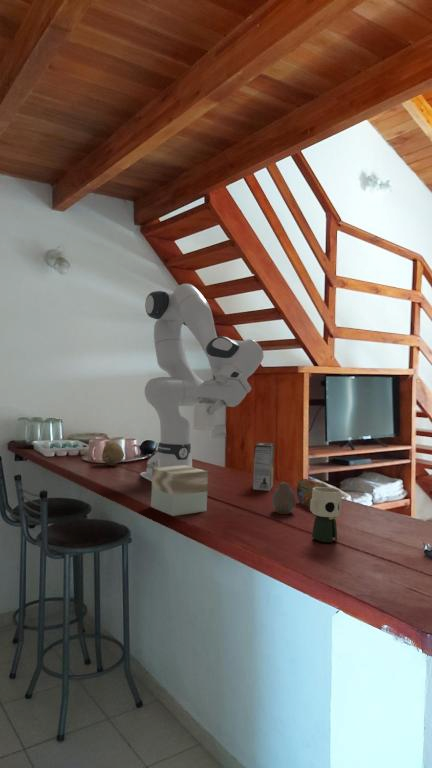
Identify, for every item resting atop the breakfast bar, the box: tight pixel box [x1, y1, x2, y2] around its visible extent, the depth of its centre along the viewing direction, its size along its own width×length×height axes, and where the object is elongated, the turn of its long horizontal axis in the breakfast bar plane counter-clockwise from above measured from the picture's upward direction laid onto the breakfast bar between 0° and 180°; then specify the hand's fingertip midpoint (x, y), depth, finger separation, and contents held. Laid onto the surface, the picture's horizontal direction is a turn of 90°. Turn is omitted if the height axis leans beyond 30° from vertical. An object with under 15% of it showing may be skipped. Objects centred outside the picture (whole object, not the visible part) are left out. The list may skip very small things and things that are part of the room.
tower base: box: [150, 487, 208, 517], centre depth 167 cm, size 12×12×6 cm
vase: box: [271, 482, 296, 515], centre depth 168 cm, size 7×7×9 cm
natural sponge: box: [101, 441, 125, 467], centre depth 237 cm, size 9×9×10 cm
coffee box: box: [252, 442, 275, 492], centre depth 203 cm, size 9×6×16 cm
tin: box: [296, 478, 328, 508], centre depth 177 cm, size 15×3×8 cm, turn 24°
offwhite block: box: [192, 403, 217, 432], centre depth 170 cm, size 5×4×8 cm
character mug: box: [309, 486, 343, 543], centre depth 141 cm, size 11×7×13 cm, turn 126°
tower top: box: [151, 465, 209, 496], centre depth 167 cm, size 12×12×6 cm
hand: (202, 411), depth 170 cm, fingers closed on offwhite block, 5 cm apart
